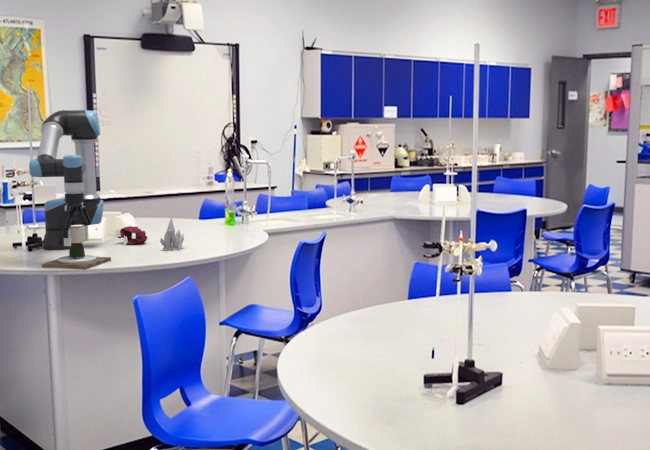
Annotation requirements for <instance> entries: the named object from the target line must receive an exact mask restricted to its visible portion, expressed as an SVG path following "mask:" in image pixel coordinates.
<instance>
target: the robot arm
mask: <svg viewBox="0 0 650 450" xmlns="http://www.w3.org/2000/svg"><path fill="white" fill-rule="evenodd" d="M40 133H41V137H40V142H39V147H38V152H37V155H36V158H33V159H31V160H29V164H28V166H29V167H28V168H29V175H30V176H31V177H33V178H56V177H57V178H61V177H63V183H64V185H63V187H64V192H65V194H64V197H63V198H55V199H50V200H47V201H45V202H44V223H45V224H44V226H45V227H44V228H45V233H44V237H43V241H42V243H41V244H42V245H41V246H42V249H43V250H49V251H50V250H51V251H52V250H53V251H59V250H68V249H69V250H70V246H71V237H70V230H69V228H70V227H72V226H83V227H85V242H88V241H89V226H95V225H99V224H101V223H102V219H103V216H104V215H103V214H104V202H105V201H104V200H103V199H101V196H100V195H99V194H98V193H97V177H96V176H97V173H96V158H95V157H96V155H95V154H96V153H95V143H96V142H97V140H98V137H99V136H100V135H101V129H100V120H99V117H98V114H97V112H96V111H94V110H89V109H88V110H87V109H85V110H84V109H82V110H81V109H80V110H73V109H72V110H65V109H63V110H58V111H55V112H53V113H52V114H50V115H49V116H48V117H46V119H45V120H44V121H43V123H42V124H41V128H40ZM64 136H68V137H69V136H70V137H71V138H70V139H71V141H72V142H73V143H74V149H75V153H74V154H70V155H69V154H68V155H64V156H63V157H62V158H57V154H58V149H59V145H60V139H61V138H62V137H64Z"/></svg>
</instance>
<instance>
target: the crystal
mask: <svg viewBox="0 0 650 450" xmlns="http://www.w3.org/2000/svg"><path fill="white" fill-rule="evenodd" d="M168 222H169V223H168V225H167V228H166V231H165V233H164V237H163V238H164V239H163V238H162V237H160V240H159V241H160V244H161V245H162V246H163V247H162V249H163V250H162V251H166V250H167V252H168V251H169V252H176V251H175V250H177V251H182V249H183V250H184V249H185V248H184V247H183V242H184V241H185V235H184V233H183V234H181V231H180V229H178V230H177V232H176V230H175V229H176V228H175V226H174V223H173V219H172V217H170V220H169V221H168Z"/></svg>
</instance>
